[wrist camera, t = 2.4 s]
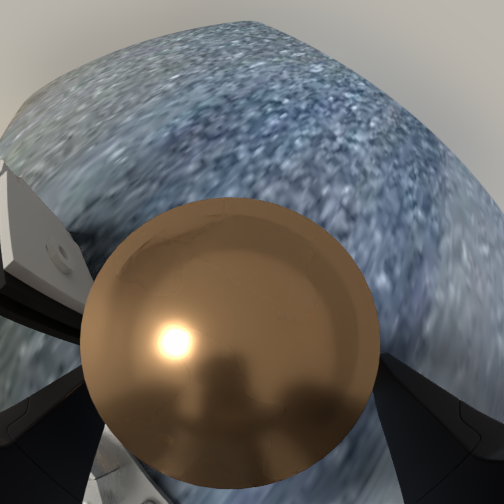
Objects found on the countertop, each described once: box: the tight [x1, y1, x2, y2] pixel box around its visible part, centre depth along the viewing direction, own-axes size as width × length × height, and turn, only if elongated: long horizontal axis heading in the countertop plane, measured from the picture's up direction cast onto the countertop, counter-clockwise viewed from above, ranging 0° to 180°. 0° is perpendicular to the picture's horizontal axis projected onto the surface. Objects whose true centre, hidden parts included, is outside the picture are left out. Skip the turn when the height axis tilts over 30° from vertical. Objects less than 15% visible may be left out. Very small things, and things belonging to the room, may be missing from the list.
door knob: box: [80, 197, 380, 489], centre depth 10 cm, size 5×5×13 cm
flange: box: [82, 424, 174, 504], centre depth 11 cm, size 12×12×4 cm
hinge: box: [0, 159, 94, 345], centre depth 15 cm, size 14×5×10 cm, turn 51°
